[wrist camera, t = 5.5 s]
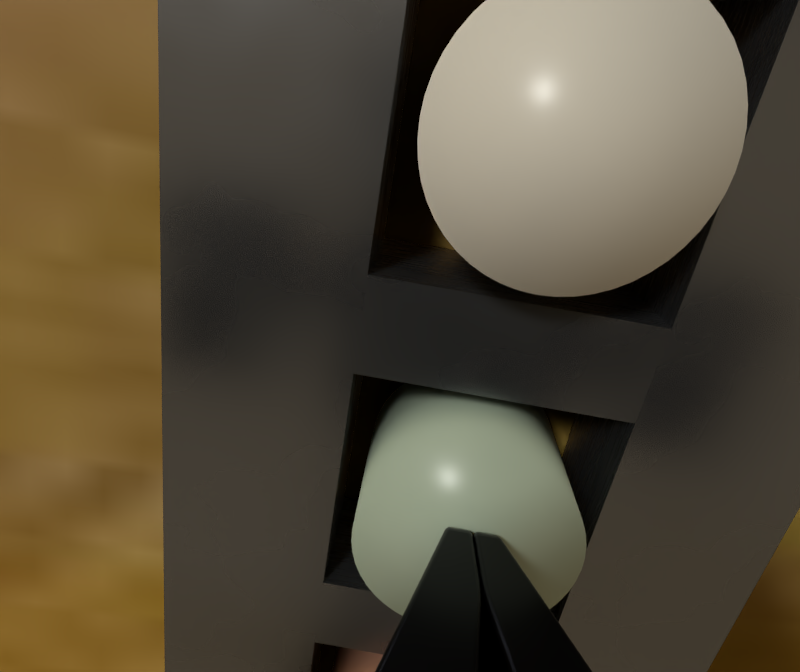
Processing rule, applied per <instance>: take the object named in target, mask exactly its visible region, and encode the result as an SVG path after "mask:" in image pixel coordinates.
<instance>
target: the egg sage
mask: <svg viewBox="0 0 800 672" xmlns="http://www.w3.org/2000/svg"><path fill="white" fill-rule="evenodd" d="M448 527H452V528H458V529H464V530H468V531H470V532H471V533H472V534H473V533H475V532H480V533H486V534H492V535H496V536H499V537H500V538H501V539H502V541H503V542H504V543H505V545H506V546H507V548H508V549H509V551H510V552H511V554H512V555H513V557H514V558H515V559H516V561H517V562H518V564H519V565H520V567H521V568H522V570H523V571H524V573H525V574H526V576H527V577H528V578H529V580H530V581H531V583H532V584H533V586H534V587H535V589H536V590H537V592H538V593H539V594H540V596H541V597H542V599H543V600H544V602H545V603H546V605H547V606H548V608H549V609H551V608H552V607H553V606H554V605H556V604H557V603H558V602H559V601H560V600H561V599H562V598H563V597H564V596H565V595H566V594H567V593H568V592H569V591H570V589H571V588H572V586H573V585H574V583H575V582H576V580H577V578H578V576H579V574H580V572H581V570H582V567H583V563H584V560H585V554H586V533H585V528H584V524H583V520H582V517H581V514H580V511H579V508H578V505H577V502H576V500H575V497H574V494H573V491H572V488H571V485H570V482H569V479H568V476H567V473H566V470H565V467H564V464H563V461H562V458H561V455H560V452H559V449H558V446H557V443H556V440H555V437H554V434H553V431H552V428H551V425H550V422H549V420H548V418H547V415H546V413H545V411H544V409H543V408H542V407H539V406H533V405H527V404H522V403H516V402H511V401H505V400H499V399H494V398H488V397H482V396H477V395H471V394H465V393H460V392H454V391H449V390H443V389H437V388H432V387H426V386H420V385H415V384H409V383H404V384H403V385H401V386H400V387H399V388H398V389H397V390H396V391H395V392H393V393H392V394H391V396H390V397H389V398H388V399H387V401H386V402H385V403H384V405H383V406H382V408H381V410H380V411H379V414H378V416H377V419H376V421H375V425H374V429H373V433H372V438H371V443H370V448H369V452H368V457H367V462H366V466H365V471H364V476H363V481H362V485H361V490H360V495H359V499H358V504H357V509H356V513H355V518H354V523H353V528H352V538H351V543H352V553H353V557H354V561H355V564H356V567H357V569H358V571H359V574H360V576H361V577H362V579H363V580H364V582H365V584H366V585H367V586H368V588H369V589H370V590H371V591H372V592H373V594H374V595H375V596H376V597H377V598H378V599H379V600H381V601H382V602H383V603H384V604H385V605H387V606H388V607H389V608H391V609H392V610H393V611H395V612H397V613H398V614H400V615H402V616H403V614H404V612H405V610H406V608H407V606H408V603H409V601H410V599H411V597H412V595H413V593H414V591H415V589H416V587H417V585H418V583H419V581H420V579H421V577H422V575H423V573H424V571H425V569H426V567H427V565H428V563H429V561H430V559H431V557H432V555H433V553H434V551H435V549H436V547H437V545H438V543H439V540H440V538H441V536H442V534H443V532H444V530H445V529H446V528H448Z"/></svg>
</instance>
